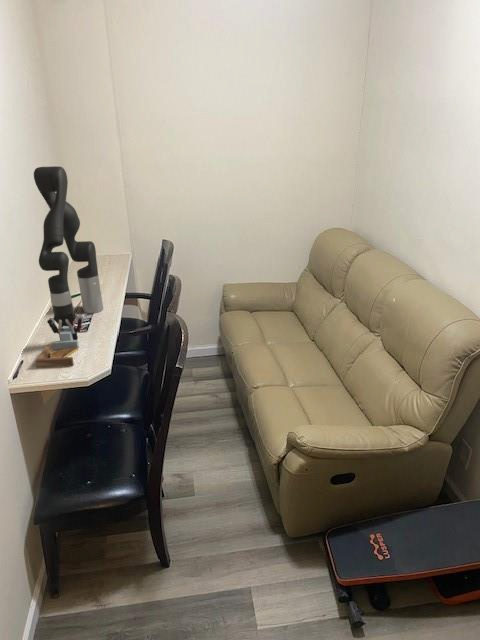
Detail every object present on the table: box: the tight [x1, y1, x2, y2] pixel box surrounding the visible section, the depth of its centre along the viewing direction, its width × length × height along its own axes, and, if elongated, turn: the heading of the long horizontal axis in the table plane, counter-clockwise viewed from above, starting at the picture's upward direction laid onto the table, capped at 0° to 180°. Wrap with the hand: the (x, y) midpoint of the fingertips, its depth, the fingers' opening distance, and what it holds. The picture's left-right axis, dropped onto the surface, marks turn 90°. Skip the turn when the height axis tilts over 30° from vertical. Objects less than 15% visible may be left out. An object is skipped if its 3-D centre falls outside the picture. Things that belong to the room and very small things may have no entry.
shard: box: [49, 346, 80, 358], centre depth 181 cm, size 11×8×2 cm
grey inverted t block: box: [53, 326, 80, 351], centre depth 189 cm, size 10×9×6 cm
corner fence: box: [35, 344, 75, 369], centre depth 178 cm, size 13×13×3 cm
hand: (69, 341), depth 190 cm, fingers closed on grey inverted t block, 4 cm apart
